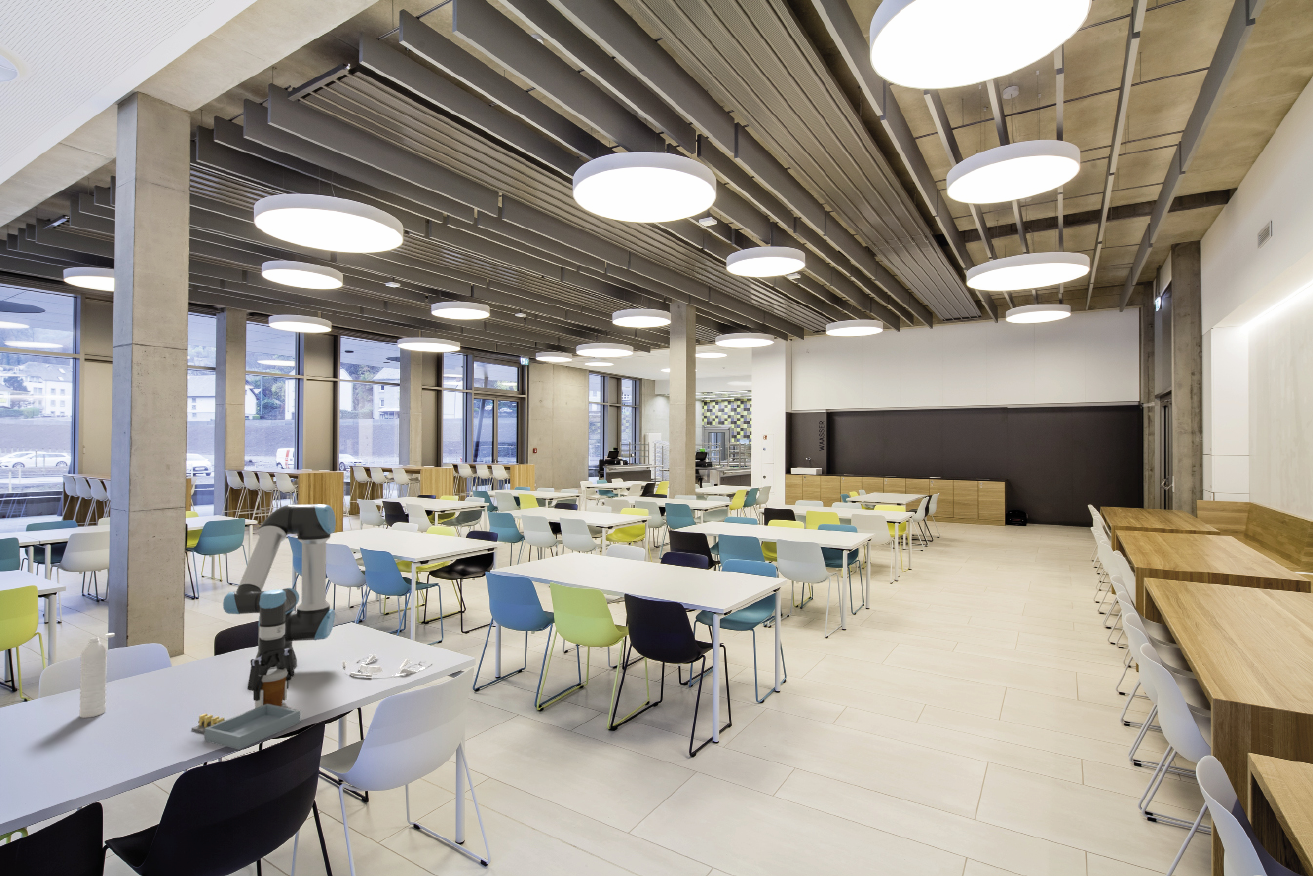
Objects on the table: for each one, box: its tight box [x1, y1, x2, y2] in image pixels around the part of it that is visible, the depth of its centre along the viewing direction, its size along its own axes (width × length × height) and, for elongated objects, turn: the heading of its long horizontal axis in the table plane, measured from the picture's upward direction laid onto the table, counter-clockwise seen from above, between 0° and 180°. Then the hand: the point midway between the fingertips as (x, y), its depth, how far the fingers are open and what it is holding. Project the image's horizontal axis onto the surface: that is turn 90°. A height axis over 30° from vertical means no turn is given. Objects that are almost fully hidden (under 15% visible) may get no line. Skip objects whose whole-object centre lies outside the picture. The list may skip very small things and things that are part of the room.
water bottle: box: [79, 632, 116, 719], centre depth 210 cm, size 9×6×25 cm
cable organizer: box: [342, 654, 425, 677], centre depth 254 cm, size 35×24×3 cm
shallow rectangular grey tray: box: [204, 704, 301, 750], centre depth 197 cm, size 15×20×4 cm
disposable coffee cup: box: [257, 667, 288, 707], centre depth 215 cm, size 10×10×12 cm
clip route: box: [191, 713, 226, 735], centre depth 198 cm, size 11×6×4 cm, turn 69°
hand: (271, 704), depth 215 cm, fingers closed on disposable coffee cup, 8 cm apart
